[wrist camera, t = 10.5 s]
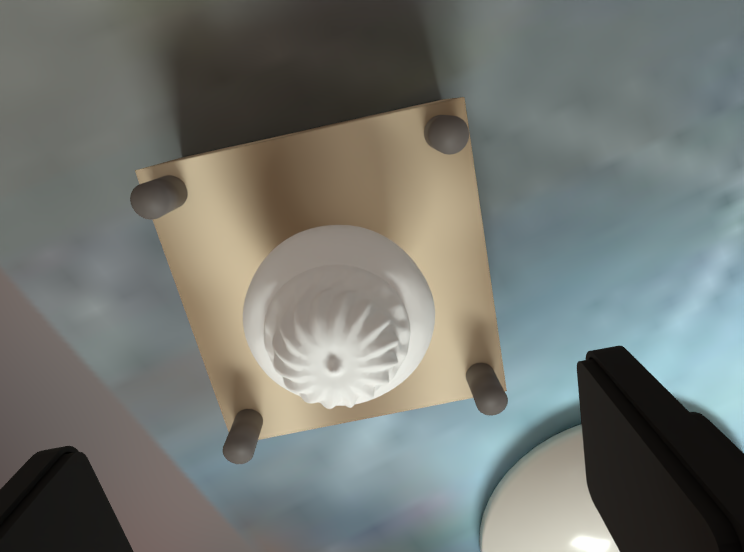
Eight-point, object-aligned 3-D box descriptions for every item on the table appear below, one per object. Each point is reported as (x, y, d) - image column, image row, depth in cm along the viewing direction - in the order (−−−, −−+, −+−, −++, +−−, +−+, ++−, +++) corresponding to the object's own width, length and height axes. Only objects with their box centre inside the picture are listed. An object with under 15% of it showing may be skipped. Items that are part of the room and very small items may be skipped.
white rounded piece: (275, 359, 20) (234, 480, 14) (251, 212, 19) (191, 269, 12) (425, 346, 20) (457, 461, 14) (417, 197, 19) (450, 247, 12)
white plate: (749, 386, 27) (766, 398, 26) (742, 599, 32) (756, 617, 31) (459, 442, 28) (463, 456, 27) (496, 641, 33) (501, 660, 32)
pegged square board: (441, 99, 22) (476, 95, 16) (479, 339, 26) (521, 418, 19) (181, 157, 23) (108, 177, 16) (256, 384, 26) (221, 476, 20)
